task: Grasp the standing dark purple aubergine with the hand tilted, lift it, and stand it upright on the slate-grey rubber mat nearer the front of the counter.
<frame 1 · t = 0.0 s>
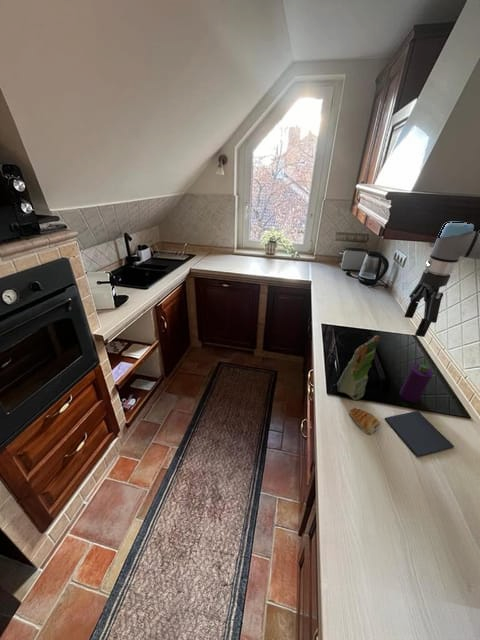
hand: (413, 326, 95), 25 cm above the worktop, tool pointing down, fingers open, 13 cm apart
pastry: (364, 423, 87), on the worktop
mat: (417, 432, 84), on the worktop
aubergine: (408, 396, 98), on the worktop
pouch: (350, 391, 99), on the worktop
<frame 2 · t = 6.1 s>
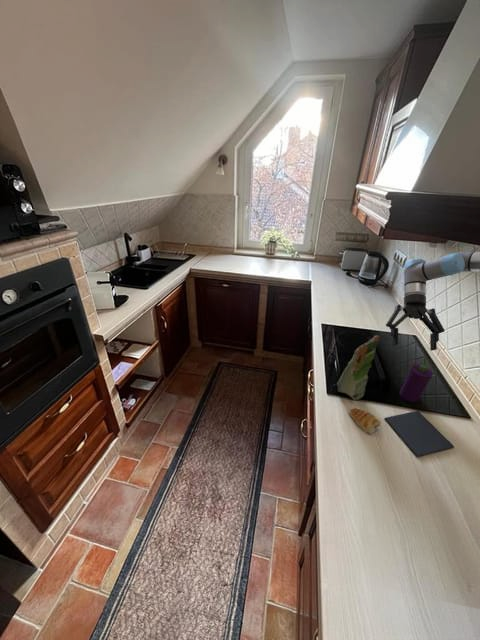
hand: (414, 347, 99), 16 cm above the worktop, tool tilted 45°, fingers open, 13 cm apart
nothing on the worktop moved.
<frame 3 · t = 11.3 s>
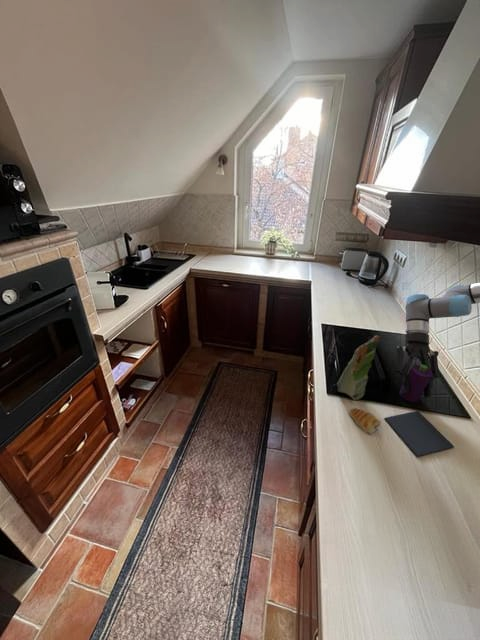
hand: (416, 394, 92), 4 cm above the worktop, tool tilted 45°, fingers closed on aubergine, 6 cm apart
aubergine: (408, 396, 98), on the worktop, touching gripper
everything else where it was.
when the fingers open (5 cm above the worktop, at t = 23.1 s): aubergine stays where it is, resting on mat.
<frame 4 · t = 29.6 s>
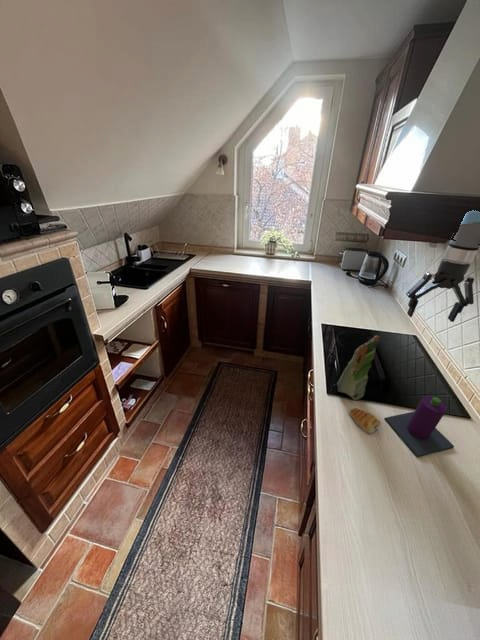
hand: (429, 317, 93), 29 cm above the worktop, tool pointing down, fingers open, 13 cm apart
aubergine: (417, 431, 84), point 1 cm above the worktop, touching mat
everything else where it was.
at the end: aubergine inside the target area on the mat (0.1 cm from its centre), point 0.8 cm above the mat's base; aubergine tilted 0°; the gripper is holding nothing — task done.
